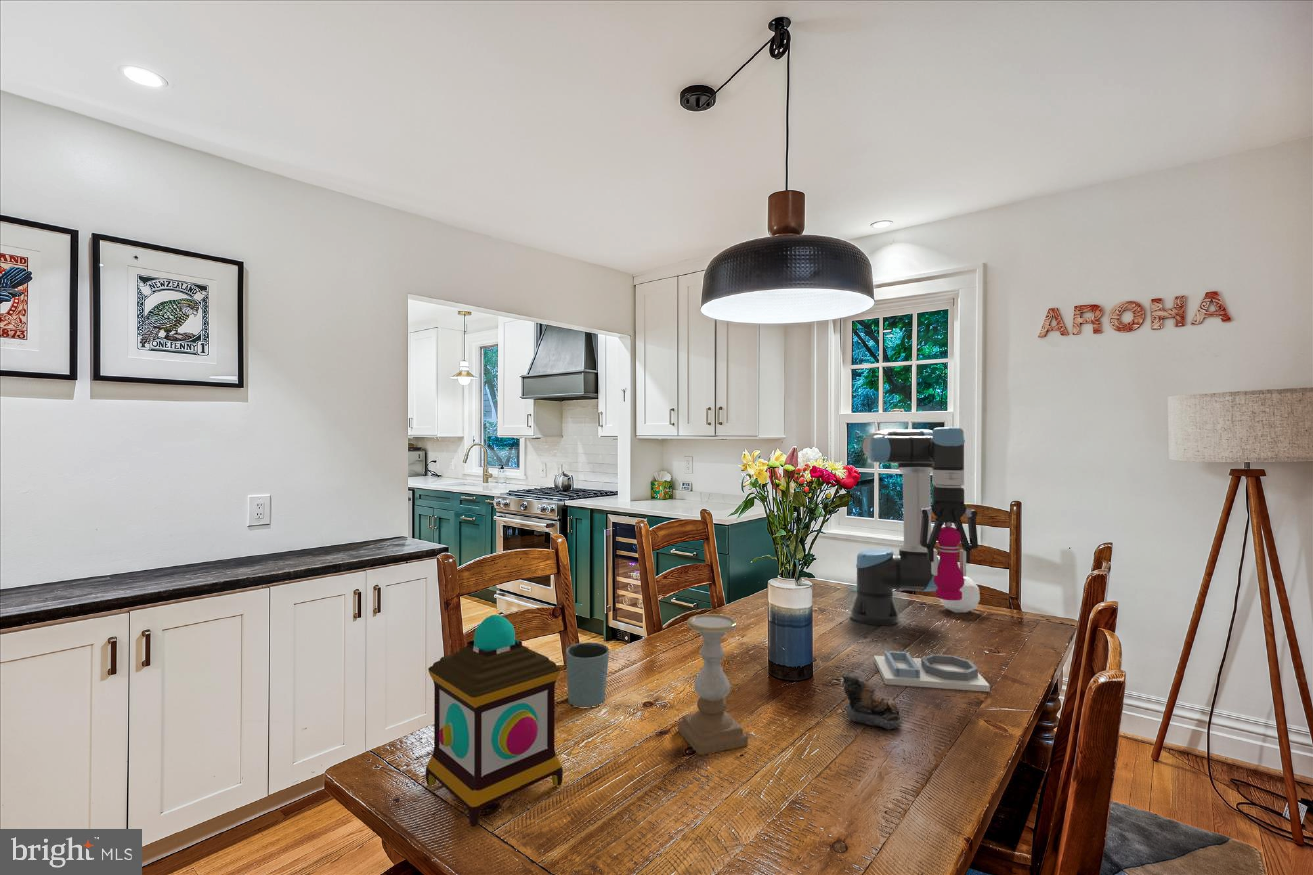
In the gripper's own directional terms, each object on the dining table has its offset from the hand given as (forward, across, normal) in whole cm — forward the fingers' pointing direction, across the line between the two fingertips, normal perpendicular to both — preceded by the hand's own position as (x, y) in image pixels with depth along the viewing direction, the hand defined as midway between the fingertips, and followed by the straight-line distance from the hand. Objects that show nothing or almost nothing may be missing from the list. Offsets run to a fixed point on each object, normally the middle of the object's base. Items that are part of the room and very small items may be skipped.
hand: (948, 574), depth 157 cm
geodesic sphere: (+25, +21, +62) cm, 70 cm away
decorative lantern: (+27, -94, -69) cm, 119 cm away
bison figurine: (+26, -25, -33) cm, 49 cm away
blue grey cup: (+26, -88, -33) cm, 97 cm away
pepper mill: (+6, 0, 0) cm, 6 cm away
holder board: (+26, -6, -2) cm, 26 cm away
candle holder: (+27, -58, -45) cm, 78 cm away
